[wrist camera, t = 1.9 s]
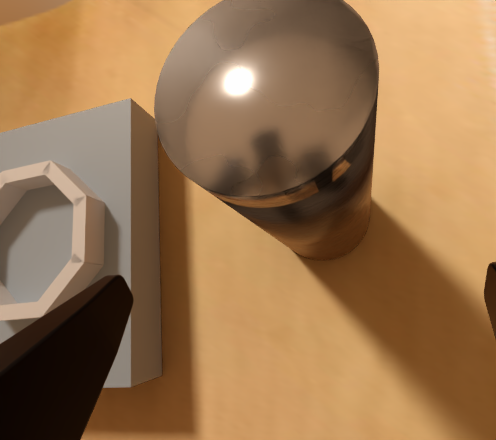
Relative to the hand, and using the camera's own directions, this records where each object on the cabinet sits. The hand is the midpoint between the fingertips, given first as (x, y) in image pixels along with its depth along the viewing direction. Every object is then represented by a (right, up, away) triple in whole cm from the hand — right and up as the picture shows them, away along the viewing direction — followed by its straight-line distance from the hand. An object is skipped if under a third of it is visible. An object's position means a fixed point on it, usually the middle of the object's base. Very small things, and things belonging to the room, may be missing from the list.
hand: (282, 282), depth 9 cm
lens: (+3, +2, +11) cm, 12 cm away
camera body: (-12, 0, +15) cm, 19 cm away
